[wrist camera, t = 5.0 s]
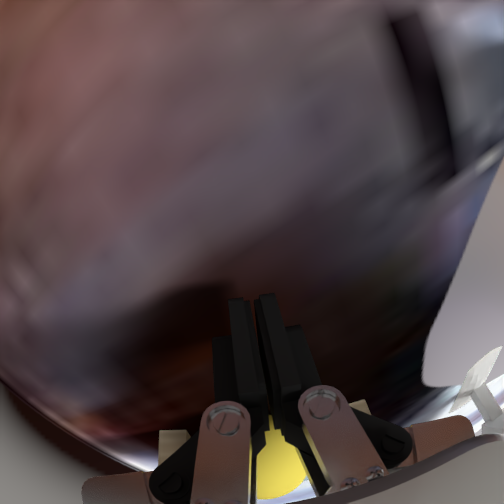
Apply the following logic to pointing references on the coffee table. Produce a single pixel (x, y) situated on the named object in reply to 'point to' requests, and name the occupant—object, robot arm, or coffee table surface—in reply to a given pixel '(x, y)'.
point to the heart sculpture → (482, 394)
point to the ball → (278, 466)
